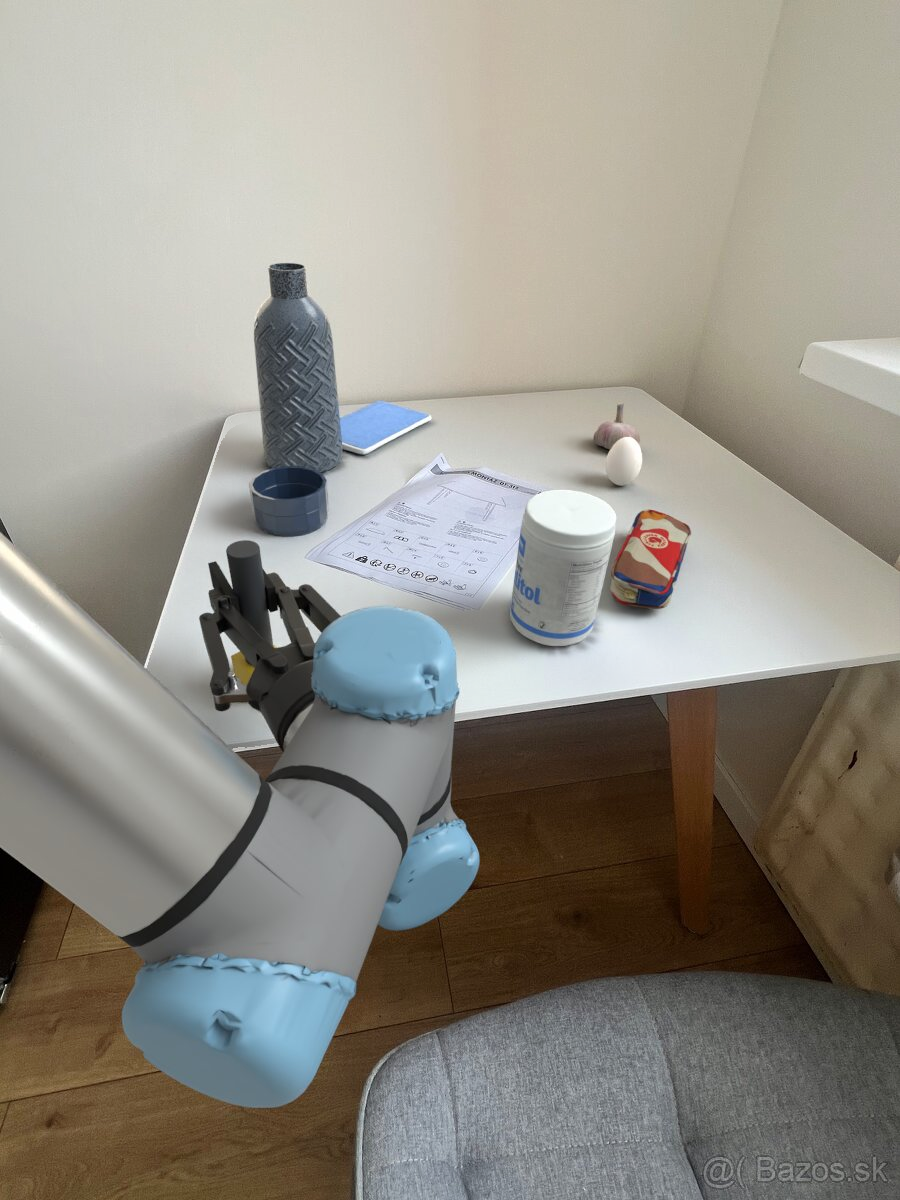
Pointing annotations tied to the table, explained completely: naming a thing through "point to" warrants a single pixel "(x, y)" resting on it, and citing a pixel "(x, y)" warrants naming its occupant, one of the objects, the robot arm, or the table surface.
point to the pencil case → (650, 560)
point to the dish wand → (249, 597)
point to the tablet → (377, 426)
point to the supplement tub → (561, 566)
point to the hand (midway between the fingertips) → (232, 569)
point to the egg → (624, 461)
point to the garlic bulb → (614, 431)
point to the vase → (296, 375)
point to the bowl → (289, 500)
